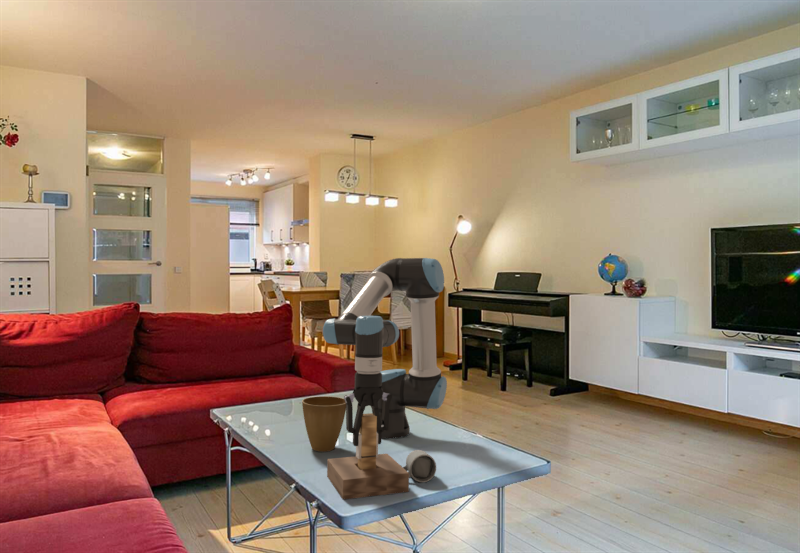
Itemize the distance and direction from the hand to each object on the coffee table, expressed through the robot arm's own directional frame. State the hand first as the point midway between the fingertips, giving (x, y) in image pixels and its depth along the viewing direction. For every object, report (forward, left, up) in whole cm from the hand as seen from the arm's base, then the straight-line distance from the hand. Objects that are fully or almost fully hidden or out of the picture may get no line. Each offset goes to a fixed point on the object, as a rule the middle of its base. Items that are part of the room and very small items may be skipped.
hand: (366, 456), depth 158 cm
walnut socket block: (0, 0, -8) cm, 8 cm away
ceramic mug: (-15, 0, -8) cm, 17 cm away
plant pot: (+4, -36, -8) cm, 37 cm away
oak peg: (0, 0, -4) cm, 4 cm away
